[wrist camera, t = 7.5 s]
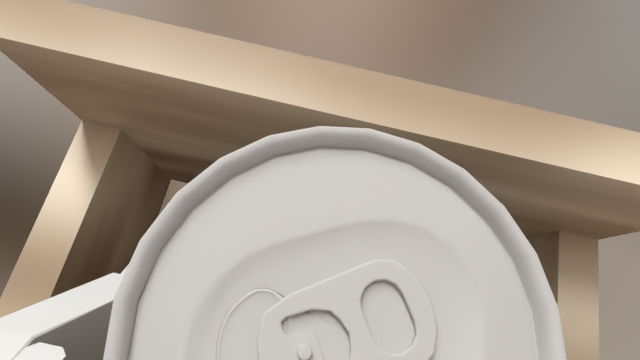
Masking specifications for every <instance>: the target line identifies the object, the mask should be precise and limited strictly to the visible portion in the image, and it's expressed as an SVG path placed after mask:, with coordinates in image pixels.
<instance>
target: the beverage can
mask: <svg viewBox="0 0 640 360" xmlns="http://www.w3.org/2000/svg"><path fill="white" fill-rule="evenodd" d="M103 360H567V356H566V350H565V344H564V337H563V331H562V325H561V318H560V312H559V308H558V306H557V303H556V301H555V298H554V295H553V293H552V290H551V288H550V285H549V283H548V280H547V278H546V275H545V273H544V270H543V268H542V265H541V263H540V260H539V257H538V255H537V253H536V251H535V250H534V249H533V247H532V246H531V244H530V243H529V241H528V240H527V238H526V237H525V235H524V234H523V233H522V231H521V230H520V228H519V227H518V225H517V224H516V222H515V221H514V219H513V218H512V216H511V215H510V214H509V212H508V211H507V209H506V208H505V206H504V205H503V204H501V203H500V202H499V201H498V200H497V199H496V198H495V197H494V196H493V195H492V194H491V193H490V192H489V191H488V190H486V189H485V188H484V187H483V186H482V185H481V184H480V183H479V182H478V181H477V180H476V179H475V178H474V177H473V176H471V175H470V174H469V173H468V172H467V171H466V170H465V169H463V168H462V167H460V166H458V165H456V164H455V163H453V162H451V161H449V160H448V159H446V158H444V157H442V156H441V155H439V154H437V153H435V152H434V151H432V150H430V149H428V148H427V147H425V146H423V145H422V144H420V143H417V142H414V141H410V140H407V139H404V138H400V137H397V136H394V135H390V134H387V133H384V132H380V131H377V130H373V129H370V128H350V127H330V126H316V127H311V128H306V129H301V130H295V131H290V132H285V133H280V134H274V135H269V136H267V137H264V138H262V139H260V140H258V141H256V142H254V143H251V144H249V145H247V146H245V147H243V148H241V149H238V150H236V151H234V152H232V153H230V154H228V155H226V156H223V157H221V158H219V159H218V160H217V161H216V162H214V163H213V164H212V165H211V166H209V167H208V168H207V169H206V170H204V171H203V172H202V173H201V174H199V175H198V176H197V177H196V178H194V179H193V180H192V181H191V182H189V183H188V184H187V185H185V186H184V187H183V188H182V189H180V190H179V191H178V192H177V193H176V194H175V195H174V196H173V198H172V199H171V200H170V202H169V203H168V204H167V205H166V207H165V208H164V209H163V211H162V212H161V213H160V215H159V216H158V217H157V218H156V220H155V221H154V222H153V224H152V225H151V226H150V228H149V229H148V230H147V231H146V233H145V234H144V235H143V237H142V238H141V239H140V241H139V243H138V245H137V248H136V250H135V252H134V254H133V256H132V259H131V261H130V263H129V265H128V268H127V270H126V272H125V274H124V277H123V279H122V281H121V283H120V286H119V288H118V290H117V292H116V295H115V297H114V300H113V305H112V311H111V317H110V323H109V328H108V334H107V340H106V345H105V351H104V357H103Z"/></svg>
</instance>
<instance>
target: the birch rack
mask: <svg viewBox="0 0 640 360" xmlns="http://www.w3.org/2000/svg"><path fill="white" fill-rule="evenodd" d="M0 51H2V52H3V53H4V54H5V55H6V56H8V57H9V58H10V59H11V60H12V61H13V62H14V63H16V64H17V65H18V66H19V67H20V68H21V69H23V70H24V71H25V72H26V73H27V74H28V75H30V76H31V77H32V78H33V79H34V80H35V81H37V82H38V83H39V84H40V85H42V86H43V87H44V88H45V89H46V90H47V91H48V92H50V93H51V94H52V95H53V96H54V97H56V98H57V99H58V100H59V101H60V102H61V103H62V104H64V105H65V106H66V107H67V108H69V110H71V111H72V112H73V113H74V114H75V115H77V116H78V117H79V118H80V119H81V120H82V123H81V124H80V127H79V129H78V131H77V133H76V135H75V137H74V140H73V142H72V144H71V146H70V148H69V150H68V153H67V155H66V157H65V159H64V161H63V163H62V166H61V168H60V170H59V172H58V174H57V177H56V179H55V181H54V183H53V185H52V188H51V190H50V192H49V194H48V196H47V198H46V200H45V203H44V205H43V207H42V209H41V212H40V214H39V216H38V218H37V220H36V222H35V224H34V227H33V229H32V231H31V233H30V235H29V237H28V240H27V242H26V244H25V246H24V249H23V251H22V253H21V255H20V257H19V259H18V261H17V264H16V266H15V268H14V270H13V272H12V275H11V277H10V279H9V281H8V283H7V285H6V287H5V290H4V292H3V294H2V296H1V298H0V318H1V317H4V316H6V315H9V314H11V313H14V312H16V311H19V310H21V309H24V308H26V307H29V306H31V305H34V304H36V303H39V302H41V301H44V300H46V299H49V298H51V297H54V296H56V295H59V294H61V293H64V292H66V291H69V290H71V289H74V288H76V287H79V286H81V285H84V284H86V283H89V282H91V281H94V280H96V279H99V278H101V277H104V276H106V275H109V274H111V273H118V274H121V272H122V271H123V270H124V269H125V268H126V267H127V266H128V264H129V263H130V261H131V259H132V256H133V254H134V252H135V250H136V248H137V245H138V243H139V241H140V239H141V238H142V237H143V235H144V234H145V233H146V231H147V230H148V229H149V228H150V226H151V225H152V224H153V222H154V221H155V220H156V218H157V216H158V214H159V211H160V208H161V205H162V203H163V199H164V197H165V194H166V191H167V189H168V186H169V183H170V180H171V179H173V180H178V181H181V182H186V183H189V182H191V181H192V180H193V179H194V178H196V177H197V176H198V175H199V174H201V173H202V172H203V171H204V170H206V169H207V168H208V167H209V166H211V165H212V164H213V163H214V162H216V161H217V160H218V159H219V158H221V157H223V156H226V155H228V154H230V153H232V152H234V151H236V150H238V149H241V148H243V147H245V146H247V145H249V144H251V143H254V142H256V141H258V140H260V139H262V138H264V137H267V136H269V135H274V134H280V133H285V132H290V131H295V130H301V129H306V128H311V127H316V126H330V127H350V128H370V129H373V130H377V131H380V132H384V133H387V134H390V135H394V136H397V137H400V138H404V139H407V140H410V141H414V142H417V143H420V144H422V145H423V146H425V147H427V148H428V149H430V150H432V151H434V152H435V153H437V154H439V155H441V156H442V157H444V158H446V159H448V160H449V161H451V162H453V163H455V164H456V165H458V166H460V167H462V168H463V169H465V170H466V171H467V172H468V173H469V174H470V175H471V176H473V177H474V178H475V179H476V180H477V181H478V182H479V183H480V184H481V185H482V186H483V187H484V188H485V189H486V190H488V191H489V192H490V193H491V194H492V195H493V196H494V197H495V198H496V199H497V200H498V201H499V202H500V203H501V204H503V205H504V206H505V208H506V209H507V211H508V212H509V214H510V215H511V216H512V218H513V219H514V221H515V222H516V224H517V225H518V227H519V228H520V230H521V231H522V233H523V234H524V235H525V237H526V238H527V240H528V241H529V243H530V244H531V246H532V247H533V249H534V250H535V251H536V253H537V255H538V257H539V260H540V263H541V265H542V268H543V270H544V273H545V275H546V278H547V280H548V283H549V285H550V288H551V290H552V293H553V295H554V298H555V301H556V303H557V306H558V308H559V312H560V318H561V325H562V331H563V337H564V344H565V350H566V356H567V360H599V300H598V299H599V298H598V297H599V296H598V295H599V294H598V293H599V291H598V290H599V289H598V288H599V286H598V239H603V238H608V237H613V236H618V235H623V234H628V233H633V232H638V231H640V133H638V132H634V131H630V130H626V129H622V128H617V127H613V126H608V125H604V124H600V123H595V122H591V121H587V120H582V119H578V118H574V117H569V116H565V115H561V114H556V113H552V112H548V111H543V110H539V109H535V108H530V107H526V106H522V105H517V104H513V103H508V102H504V101H500V100H495V99H491V98H487V97H483V96H478V95H474V94H470V93H465V92H461V91H457V90H452V89H448V88H444V87H439V86H435V85H430V84H426V83H421V82H417V81H413V80H409V79H404V78H400V77H396V76H391V75H386V74H382V73H378V72H374V71H370V70H365V69H361V68H357V67H352V66H348V65H344V64H339V63H335V62H331V61H326V60H321V59H317V58H313V57H309V56H305V55H300V54H296V53H291V52H287V51H283V50H278V49H274V48H269V47H265V46H261V45H256V44H252V43H248V42H244V41H239V40H235V39H231V38H226V37H222V36H218V35H213V34H209V33H204V32H200V31H196V30H192V29H187V28H183V27H179V26H174V25H170V24H166V23H161V22H156V21H153V20H148V19H144V18H140V17H135V16H130V15H126V14H122V13H117V12H113V11H108V10H105V9H100V8H96V7H92V6H87V5H83V4H79V3H74V2H70V1H65V0H0Z"/></svg>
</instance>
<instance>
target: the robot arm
mask: <svg viewBox="0 0 640 360" xmlns="http://www.w3.org/2000/svg"><path fill="white" fill-rule="evenodd" d="M128 265H129V264H128ZM127 268H128V266H127V267H126V268H125V269H124V270H123V271H122V272H121V274H118V273H111V274H109V275H106V276H104V277H101V278H99V279H96V280H94V281H91V282H89V283H86V284H84V285H81V286H79V287H76V288H74V289H71V290H69V291H66V292H64V293H61V294H59V295H56V296H54V297H51V298H49V299H46V300H44V301H41V302H39V303H36V304H34V305H31V306H29V307H26V308H24V309H21V310H19V311H16V312H14V313H11V314H9V315H6V316H4V317H1V318H0V360H103V357H104V351H105V345H106V340H107V334H108V328H109V323H110V317H111V311H112V305H113V300H114V297H115V295H116V292H117V290H118V288H119V286H120V283H121V281H122V279H123V277H124V274H125V272H126V270H127Z"/></svg>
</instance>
